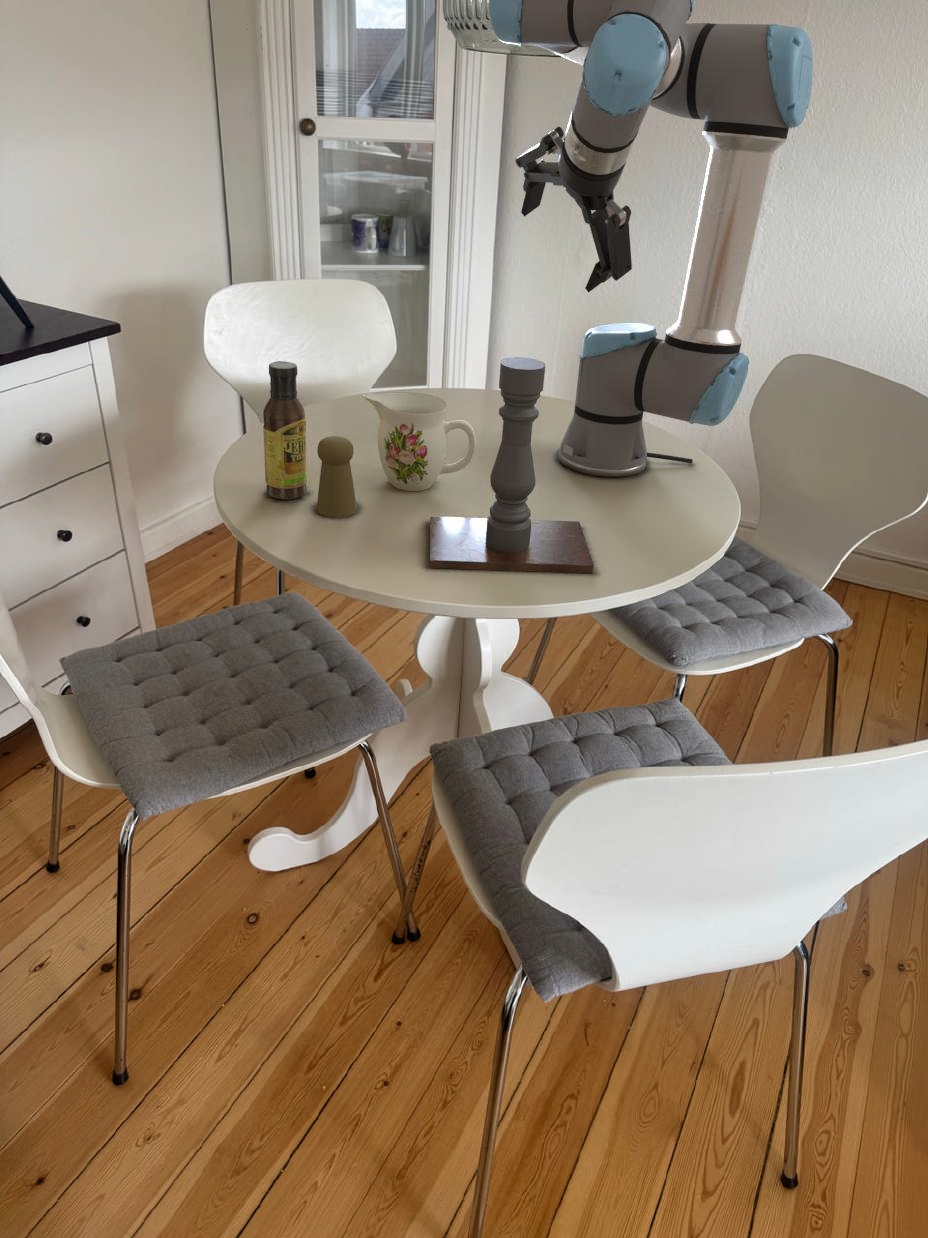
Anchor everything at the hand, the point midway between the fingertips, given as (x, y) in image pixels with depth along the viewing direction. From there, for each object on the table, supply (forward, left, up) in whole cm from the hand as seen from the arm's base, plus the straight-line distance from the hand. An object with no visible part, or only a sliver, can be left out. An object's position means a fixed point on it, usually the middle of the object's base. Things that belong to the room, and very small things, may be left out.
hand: (562, 246), depth 123 cm
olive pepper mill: (+31, +5, -38) cm, 49 cm away
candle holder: (+6, +17, -37) cm, 41 cm away
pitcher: (+19, -6, -38) cm, 43 cm away
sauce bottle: (+39, 0, -38) cm, 54 cm away
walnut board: (+6, +16, -38) cm, 41 cm away
